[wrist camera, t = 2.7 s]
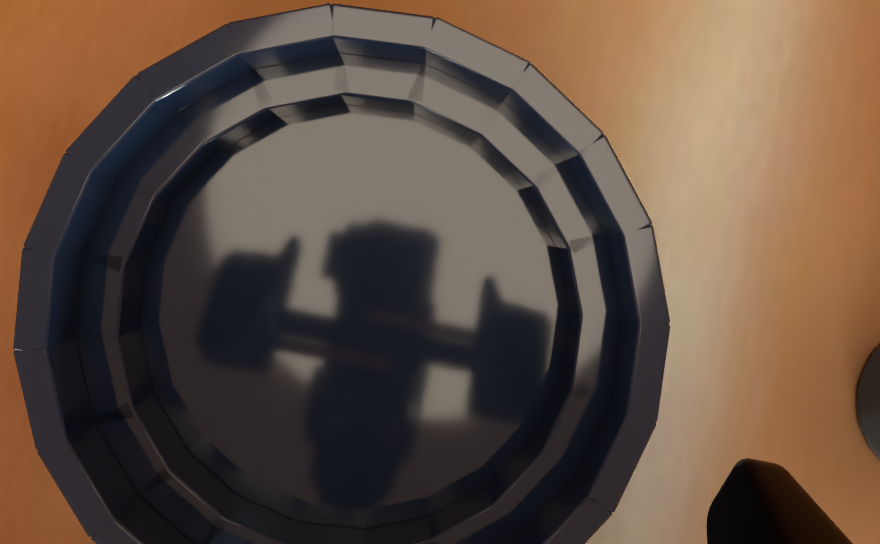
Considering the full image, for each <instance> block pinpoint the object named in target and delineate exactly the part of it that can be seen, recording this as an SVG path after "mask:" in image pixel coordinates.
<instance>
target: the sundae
mask: <svg viewBox="0 0 880 544" xmlns="http://www.w3.org/2000/svg"><path fill="white" fill-rule="evenodd" d="M857 412H858V420H859V423H860V426H861V429H862V432H863V434H864V436H865V439H866V441H867V443H868V445H869V447H870V448H871V449H872V450H873V451H874V453H875V454H876V455H877V456H878V457H879V458H880V346H879V347H878V348H877V349H876V350H875V352H874V353H873V354H872V355H871V357H870V359H869V361H868V363H867V365H866V367H865V369H864V371H863V374H862V377H861V379H860V382H859V385H858V396H857Z"/></svg>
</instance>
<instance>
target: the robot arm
mask: <svg viewBox="0 0 880 544" xmlns="http://www.w3.org/2000/svg"><path fill="white" fill-rule="evenodd" d="M707 542H708V544H852V542H851V541H850V540H849V539H848V538H847V537H846V536H845V535H844V534H843V532H842V531H841V530H840V529H839V528H838V527H837V526H836V525H835V524H834V522H833V521H832V520H831V519H830V518H829V517H828V516H827V515H826V514H825V512H824V511H823V510H822V509H821V508H820V507H819V506H818V505H817V504H816V502H815V501H814V500H813V499H812V498H811V497H810V496H809V495H808V494H807V492H806V491H805V490H804V489H803V488H802V487H801V486H800V485H799V484H798V482H797V481H796V480H795V479H794V478H793V477H792V476H791V475H790V474H789V472H788V471H787V470H785V469H784V468H783V467H782V466H780V465H778V464H775V463H770V462H765V461H760V460H755V459H750V458H746V459H742V460H740V461H739V462H737V464H736V465H735V466H734V468H733V469H732V471H731V473H730V474H729V476H728V477H727V479H726V481H725V482H724V484H723V486H722V487H721V489H720V491H719V492H718V494H717V495H716V497H715V499H714V500H713V502H712V504H711V506H710V509H709V512H708V517H707Z"/></svg>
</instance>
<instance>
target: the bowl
mask: <svg viewBox="0 0 880 544" xmlns="http://www.w3.org/2000/svg"><path fill="white" fill-rule="evenodd" d="M651 224H652V222H651V220H650V218H649V216H648V214H647V212H646V210H645V208H644V206H643V205H642V203H641V201H640V199H639V197H638V195H637V193H636V192H635V190H634V188H633V186H632V184H631V182H630V180H629V178H628V177H627V175H626V173H625V171H624V169H623V167H622V165H621V163H620V162H619V160H618V158H617V156H616V154H615V152H614V150H613V148H612V147H611V145H610V143H609V141H608V139H607V137H606V136H605V135H603V132H602V131H601V130H600V129H599V128H598V127H597V126H596V125H595V124H594V123H593V122H592V121H591V120H590V119H589V118H588V117H587V116H586V115H585V114H584V113H583V112H582V111H580V110H579V109H578V108H577V107H576V106H575V105H574V104H573V103H572V102H571V101H570V100H569V99H568V98H567V97H566V96H565V95H564V94H563V93H562V92H561V91H560V90H559V89H558V88H557V87H555V86H554V85H553V84H552V83H551V82H550V81H549V80H548V79H547V78H546V77H545V76H544V75H543V74H542V73H541V72H540V71H539V70H538V69H537V68H536V67H535V66H534V65H533V64H531V63H530V64H529V61H527V60H525V59H523V58H521V57H519V56H517V55H515V54H512V53H510V52H508V51H506V50H504V49H502V48H500V47H498V46H496V45H494V44H492V43H490V42H487V41H485V40H483V39H481V38H479V37H477V36H475V35H473V34H471V33H469V32H467V31H465V30H463V29H460V28H458V27H456V26H454V25H452V24H450V23H448V22H446V21H444V20H442V19H440V18H434V17H432V16H425V15H417V14H410V13H402V12H395V11H387V10H379V9H372V8H364V7H357V6H349V5H341V4H332V5H331V4H323V5H318V6H313V7H308V8H302V9H297V10H292V11H287V12H281V13H276V14H271V15H266V16H260V17H255V18H250V19H244V20H239V21H234V22H230V23H228V24H225V25H223V26H221V27H219V28H218V29H216V30H214V31H212V32H210V33H209V34H207V35H205V36H203V37H201V38H200V39H198V40H196V41H194V42H192V43H191V44H189V45H187V46H185V47H184V48H182V49H180V50H178V51H176V52H175V53H173V54H171V55H169V56H167V57H166V58H164V59H162V60H160V61H158V62H157V63H155V64H153V65H151V66H149V67H148V68H146V69H144V70H142V71H140V72H139V73H138V74H137V76H136V75H135V76H133V78H132V79H131V80H130V81H129V82H128V83H127V84H126V85H125V86H124V87H123V88H122V90H121V91H120V92H119V93H118V94H117V95H116V96H115V97H114V98H113V99H112V101H111V102H110V103H109V104H108V105H107V106H106V107H105V108H104V109H103V110H102V112H101V113H100V114H99V115H98V116H97V117H96V118H95V119H94V120H93V121H92V122H91V124H90V125H89V126H88V127H87V128H86V129H85V130H84V131H83V132H82V133H81V135H80V136H79V137H78V138H77V139H76V140H75V141H74V142H73V143H72V144H71V146H70V147H69V148H68V149H67V150H66V153H65V154H64V155H63V157H62V160H61V162H60V164H59V166H58V169H57V171H56V173H55V175H54V178H53V180H52V182H51V184H50V187H49V189H48V191H47V194H46V196H45V198H44V200H43V203H42V205H41V207H40V209H39V212H38V214H37V216H36V219H35V221H34V223H33V225H32V228H31V230H30V232H29V234H28V237H27V239H26V241H25V243H24V247H25V248H23V250H22V260H21V271H20V282H19V292H18V303H17V314H16V325H15V336H14V347H13V348H14V350H15V351H14V357H15V361H16V365H17V369H18V374H19V378H20V382H21V387H22V391H23V395H24V400H25V404H26V408H27V412H28V417H29V421H30V425H31V430H32V434H33V438H34V442H35V447H36V449H37V450H38V451H37V452H38V454H39V456H40V458H41V459H42V461H43V463H44V464H45V466H46V468H47V469H48V471H49V472H50V474H51V476H52V477H53V479H54V481H55V482H56V484H57V486H58V487H59V489H60V491H61V492H62V494H63V496H64V497H65V499H66V500H67V502H68V504H69V505H70V507H71V509H72V510H73V512H74V514H75V515H76V517H77V519H78V520H79V522H80V524H81V525H82V527H83V528H84V530H85V532H86V533H87V535H88V536H89V537H92V538H91V539H92V540H93V541H94V542H95V543H96V544H585V543H586V542H587V541H588V539H589V538H590V537H591V536H592V535H593V534H594V533H595V532H596V531H597V530H598V529H599V528H600V527H601V526H602V525H603V524H604V523H605V521H606V520H607V519H608V518H609V517H610V516H611V515H612V512H614V511H615V509H616V507H617V505H618V503H619V501H620V499H621V497H622V495H623V493H624V491H625V489H626V487H627V484H628V482H629V480H630V478H631V476H632V474H633V472H634V470H635V468H636V466H637V464H638V462H639V460H640V457H641V455H642V453H643V451H644V449H645V447H646V445H647V443H648V441H649V439H650V437H651V435H652V432H653V430H654V428H655V426H656V423H655V422H656V421H657V418H658V411H659V403H660V396H661V389H662V382H663V374H664V367H665V360H666V353H667V345H668V338H669V331H670V324H668V323H669V322H670V318H669V313H668V307H667V301H666V296H665V290H664V284H663V279H662V273H661V268H660V262H659V256H658V251H657V245H656V240H655V234H654V228H653V226H652V225H651Z"/></svg>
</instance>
